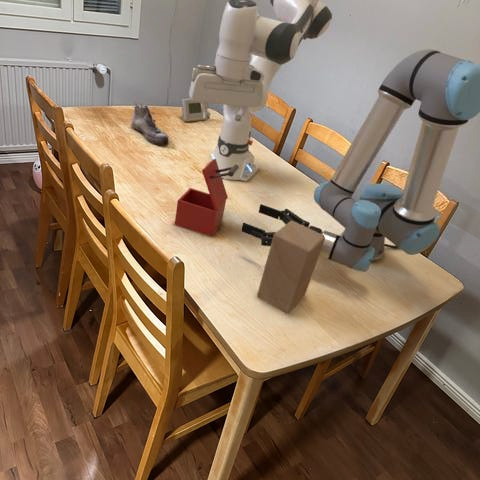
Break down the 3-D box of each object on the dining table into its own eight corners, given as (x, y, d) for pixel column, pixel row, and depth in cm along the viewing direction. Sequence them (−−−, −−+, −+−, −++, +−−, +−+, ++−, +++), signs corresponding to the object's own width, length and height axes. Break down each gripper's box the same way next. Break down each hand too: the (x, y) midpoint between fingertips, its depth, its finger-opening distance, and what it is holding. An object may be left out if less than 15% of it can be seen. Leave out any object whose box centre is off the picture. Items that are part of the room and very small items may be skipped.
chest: (174, 224, 139) (177, 200, 134) (186, 211, 147) (190, 187, 142) (211, 236, 137) (216, 212, 132) (221, 222, 145) (226, 199, 140)
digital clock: (183, 122, 219) (186, 101, 213) (175, 116, 224) (177, 95, 219) (211, 122, 228) (214, 101, 222) (202, 115, 233) (205, 95, 228)
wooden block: (289, 314, 113) (310, 251, 102) (255, 296, 116) (273, 233, 106) (304, 296, 120) (326, 235, 110) (273, 279, 124) (291, 219, 113)
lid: (201, 170, 127) (227, 165, 124) (213, 159, 135) (237, 153, 132) (215, 211, 132) (240, 207, 129) (225, 198, 140) (249, 193, 137)
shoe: (172, 146, 190) (175, 119, 184) (147, 147, 185) (150, 118, 178) (151, 125, 207) (154, 99, 201) (129, 125, 202) (130, 98, 195)
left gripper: (196, 67, 109) (189, 121, 116) (270, 75, 117) (258, 126, 124) (189, 60, 114) (183, 113, 121) (260, 69, 122) (250, 118, 129)
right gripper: (302, 274, 118) (232, 246, 124) (325, 233, 138) (264, 211, 144) (309, 252, 114) (236, 224, 120) (332, 213, 134) (268, 191, 140)
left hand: (222, 119), depth 123 cm, fingers open, 8 cm apart
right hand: (251, 217), depth 132 cm, fingers open, 13 cm apart
